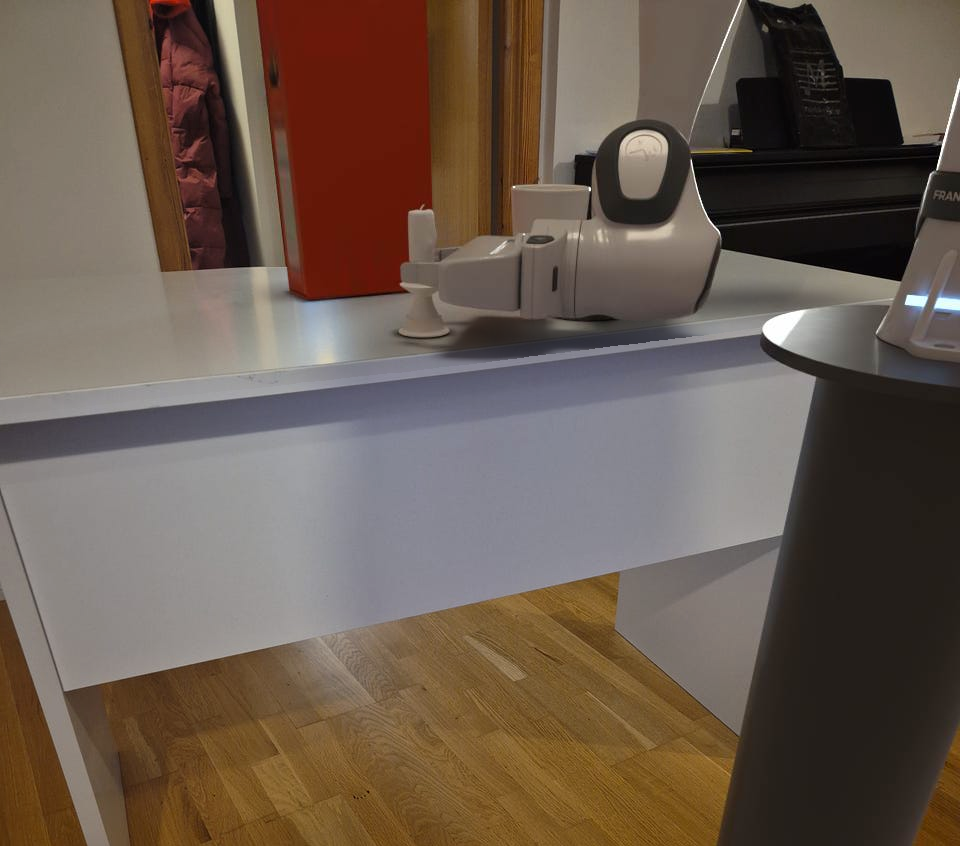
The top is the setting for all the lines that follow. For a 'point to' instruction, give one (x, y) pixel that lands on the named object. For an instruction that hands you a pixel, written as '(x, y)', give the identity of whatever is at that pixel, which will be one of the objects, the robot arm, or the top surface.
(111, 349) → the top surface
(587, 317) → the slate coaster
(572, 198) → the white tapered cup
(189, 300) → the top surface
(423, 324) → the candle
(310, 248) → the file binder
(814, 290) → the top surface
